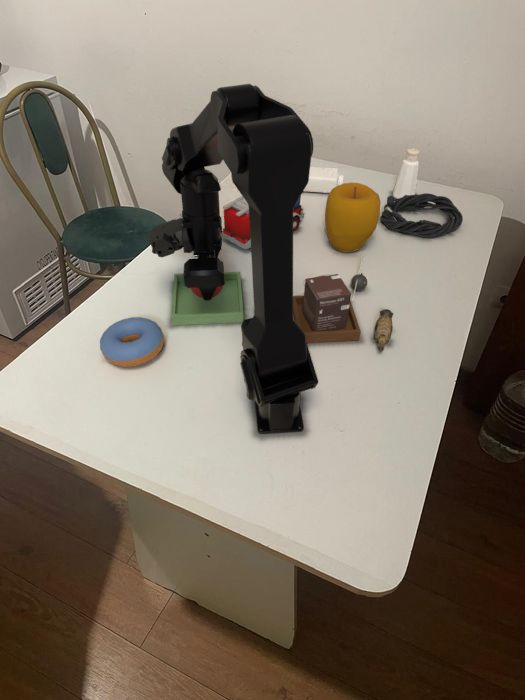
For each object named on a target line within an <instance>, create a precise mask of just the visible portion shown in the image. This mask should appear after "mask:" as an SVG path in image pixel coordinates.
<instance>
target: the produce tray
mask: <svg viewBox="0 0 525 700" xmlns="http://www.w3.org/2000/svg"><path fill="white" fill-rule="evenodd" d="M183 274H184V273H174V275H173V287H172V301H171V313H170V314H171V315H170V316H171V323H172V326H184V325H209V324H210V325H212V324H233V323H235V324H236V323H242V322H243V320H245V319H244V318H245V317H244V306H243V305H244V302H243V291H242V280H241V271H224V285H223V286H222V289H221V291H220V292H219V293H218V294H217V295H216V296H215V297H213V298H211V300H209V301H205V300H204V299H203V298H201V297H198V296H197V295H195V294H194V293H193V292H192V290H191V288H187V287H185V286H184V277H183Z"/></svg>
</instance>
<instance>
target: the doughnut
mask: <svg viewBox="0 0 525 700" xmlns="http://www.w3.org/2000/svg"><path fill="white" fill-rule="evenodd" d="M164 343H165V337H164V333H163V330H162V328H161V326H159V324H158V323H157V322H156V321H155V320H152V319H150V318H147V317H142V316H141V317H140V316H137V317H136V316H135V317H128V318H123V319H121V320H118V321H116V322H113V324H111V325H109V326H108V328H106V329H105V330H104V331H103V333H102V334H101V337H100V339H99V349H100V351H101V354H102V355H103V356H104V358H105V359H106V361H108V362H109V363H110V364H113V365H115V366H119V367H125V368H126V367H128V368H129V367H136V366H140V365H143V364H146V363H148V362H150V361H151V360H152V359H154V358H155V357H157V356H158V355H159V353H160V352H161V351H162V349H163V346H164Z"/></svg>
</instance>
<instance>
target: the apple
mask: <svg viewBox="0 0 525 700" xmlns="http://www.w3.org/2000/svg"><path fill="white" fill-rule="evenodd" d="M381 204H382V203H381V198H380V195H379V194H378V192H376V191H375V190H374V189H373V188H371V187H369V186H368V185H366V184H363V183H360V182H352V181H351V182H344V183H343V184H342V185H339V186H337V187H334V188H333V189H332V190H331V192H330V193H328V195H327V198H326V203H325V211H324V225H325V231H326V234H327V238H328V240H329V242H330V245H331V246H332V247H333V248H334V249H335V250H337V251H338V252H342V253H351V252H352V253H353V252H356V251H359V250H360V249H361V248H363V246H364V245H365V244H366V242H368V240H369V239H370V238H371V237H372V236H373V234H374V232H375V231H376V228H377V226H378V223H379V220H380V214H381Z"/></svg>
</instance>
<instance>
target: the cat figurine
mask: <svg viewBox="0 0 525 700" xmlns="http://www.w3.org/2000/svg"><path fill="white" fill-rule="evenodd" d="M393 317H394V312H392V311H391V310H390V309H388V308H385V309H382V310H381V311H380V312H379V316H378V318H377V320H376V322H375V327H374V337H375V339H374V342H378V343H377V350H378V351H380V352H383V351H384V349H385V347H386V344H388V342H389V341H390V339H391V337H392V333H393V326H394V325H393Z"/></svg>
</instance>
